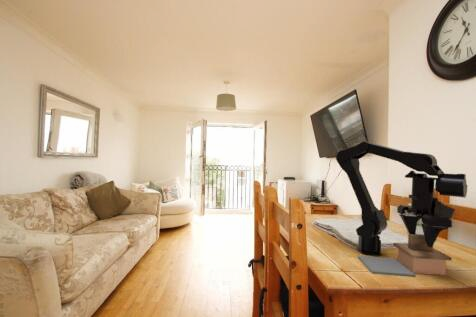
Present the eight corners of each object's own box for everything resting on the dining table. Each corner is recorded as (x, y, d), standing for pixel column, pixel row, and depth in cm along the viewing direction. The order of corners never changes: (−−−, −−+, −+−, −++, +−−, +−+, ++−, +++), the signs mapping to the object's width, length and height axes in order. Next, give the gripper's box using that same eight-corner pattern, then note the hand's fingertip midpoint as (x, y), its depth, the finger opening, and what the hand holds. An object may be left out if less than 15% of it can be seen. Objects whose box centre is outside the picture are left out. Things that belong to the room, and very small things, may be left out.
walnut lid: (411, 257, 76) (412, 240, 76) (393, 245, 87) (393, 229, 86) (451, 260, 74) (452, 242, 74) (427, 247, 85) (428, 231, 85)
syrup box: (421, 235, 116) (422, 203, 116) (426, 239, 110) (427, 205, 110) (407, 233, 118) (408, 202, 118) (411, 237, 112) (412, 204, 112)
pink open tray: (413, 273, 76) (413, 256, 76) (397, 261, 85) (398, 246, 85) (445, 275, 75) (446, 259, 75) (426, 263, 84) (427, 248, 84)
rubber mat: (371, 273, 75) (372, 271, 75) (357, 257, 87) (357, 255, 87) (415, 276, 74) (415, 274, 74) (394, 260, 86) (394, 258, 86)
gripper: (474, 199, 70) (472, 255, 70) (431, 190, 89) (429, 234, 89) (430, 197, 71) (428, 252, 72) (397, 188, 90) (395, 232, 90)
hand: (420, 241), depth 80 cm, fingers open, 9 cm apart
